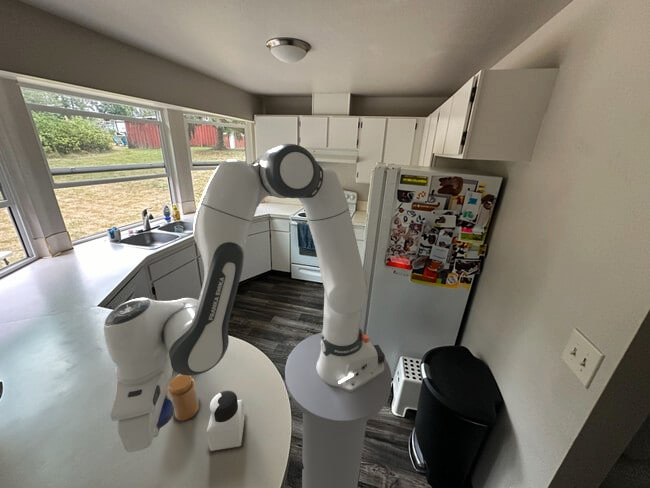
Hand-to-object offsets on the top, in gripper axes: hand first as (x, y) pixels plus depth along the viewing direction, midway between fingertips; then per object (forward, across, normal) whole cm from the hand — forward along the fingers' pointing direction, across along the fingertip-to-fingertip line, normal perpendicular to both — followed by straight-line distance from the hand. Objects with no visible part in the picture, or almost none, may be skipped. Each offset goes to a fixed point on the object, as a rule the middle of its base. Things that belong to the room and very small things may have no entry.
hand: (159, 418), depth 57 cm
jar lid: (-2, 0, 0) cm, 2 cm away
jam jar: (+10, -8, +3) cm, 13 cm away
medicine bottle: (+10, +1, +14) cm, 17 cm away
